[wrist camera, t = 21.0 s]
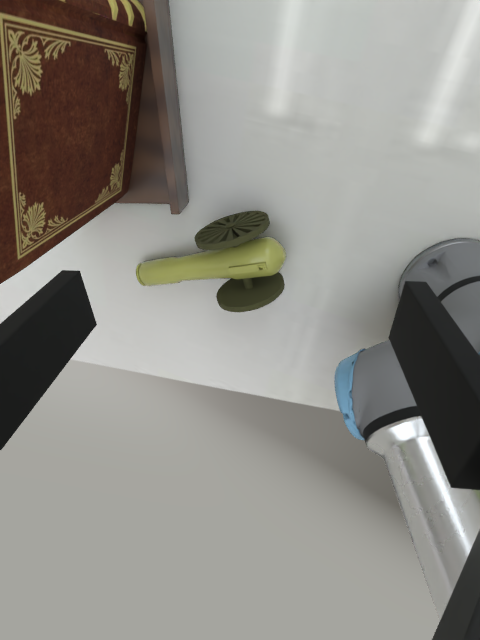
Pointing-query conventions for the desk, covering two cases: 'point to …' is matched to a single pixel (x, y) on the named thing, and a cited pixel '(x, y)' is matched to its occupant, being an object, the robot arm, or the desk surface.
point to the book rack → (158, 120)
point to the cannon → (227, 262)
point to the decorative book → (64, 117)
